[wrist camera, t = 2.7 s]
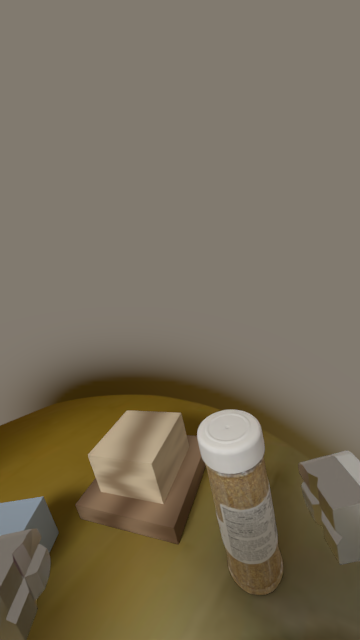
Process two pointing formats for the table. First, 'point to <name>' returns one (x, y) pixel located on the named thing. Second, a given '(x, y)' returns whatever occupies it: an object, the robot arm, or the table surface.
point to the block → (29, 519)
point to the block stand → (144, 476)
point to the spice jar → (242, 498)
